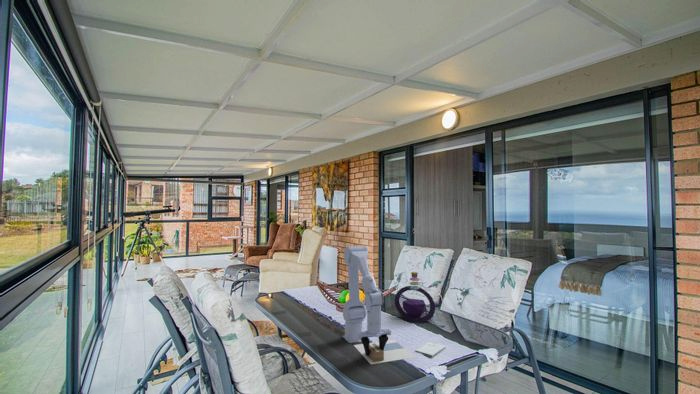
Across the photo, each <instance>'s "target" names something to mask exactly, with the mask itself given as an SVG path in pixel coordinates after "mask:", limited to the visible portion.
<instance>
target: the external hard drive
mask: <svg viewBox="0 0 700 394" xmlns="http://www.w3.org/2000/svg"><path fill="white" fill-rule="evenodd" d="M445 349H446V346H445V345H443V344H438V343H435V342H430V341H428V342H426V343H425V344H423V345H421V346H420V347H418V348H417V349H415V350H414V352H417V353H420V354H421V355H423V356H425V357H428V358H431V359H432V358H435V357H436V356H437V355H439V354H440V353H441V352H443V351H444V350H445ZM438 353H439V354H438ZM435 355H436V356H435Z"/></svg>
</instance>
